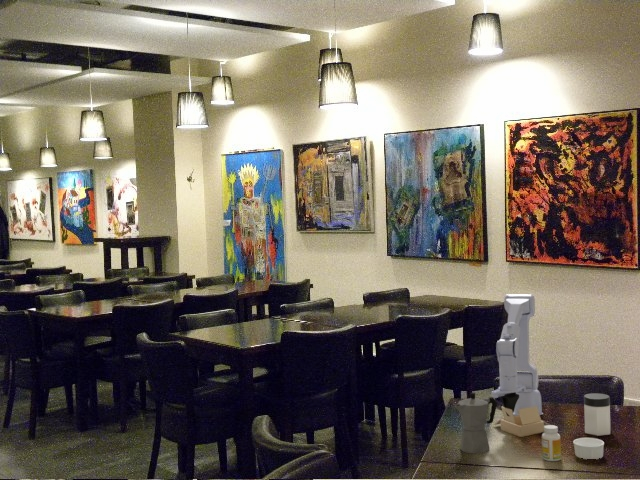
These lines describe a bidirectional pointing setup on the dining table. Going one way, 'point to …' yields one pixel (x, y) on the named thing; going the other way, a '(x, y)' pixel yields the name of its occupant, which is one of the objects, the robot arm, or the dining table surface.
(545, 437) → the supplement bottle
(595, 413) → the jar
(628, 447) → the dining table surface
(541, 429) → the carton
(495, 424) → the flap
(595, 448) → the ramekin
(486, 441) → the coffeepot
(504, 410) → the flap
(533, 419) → the flap
